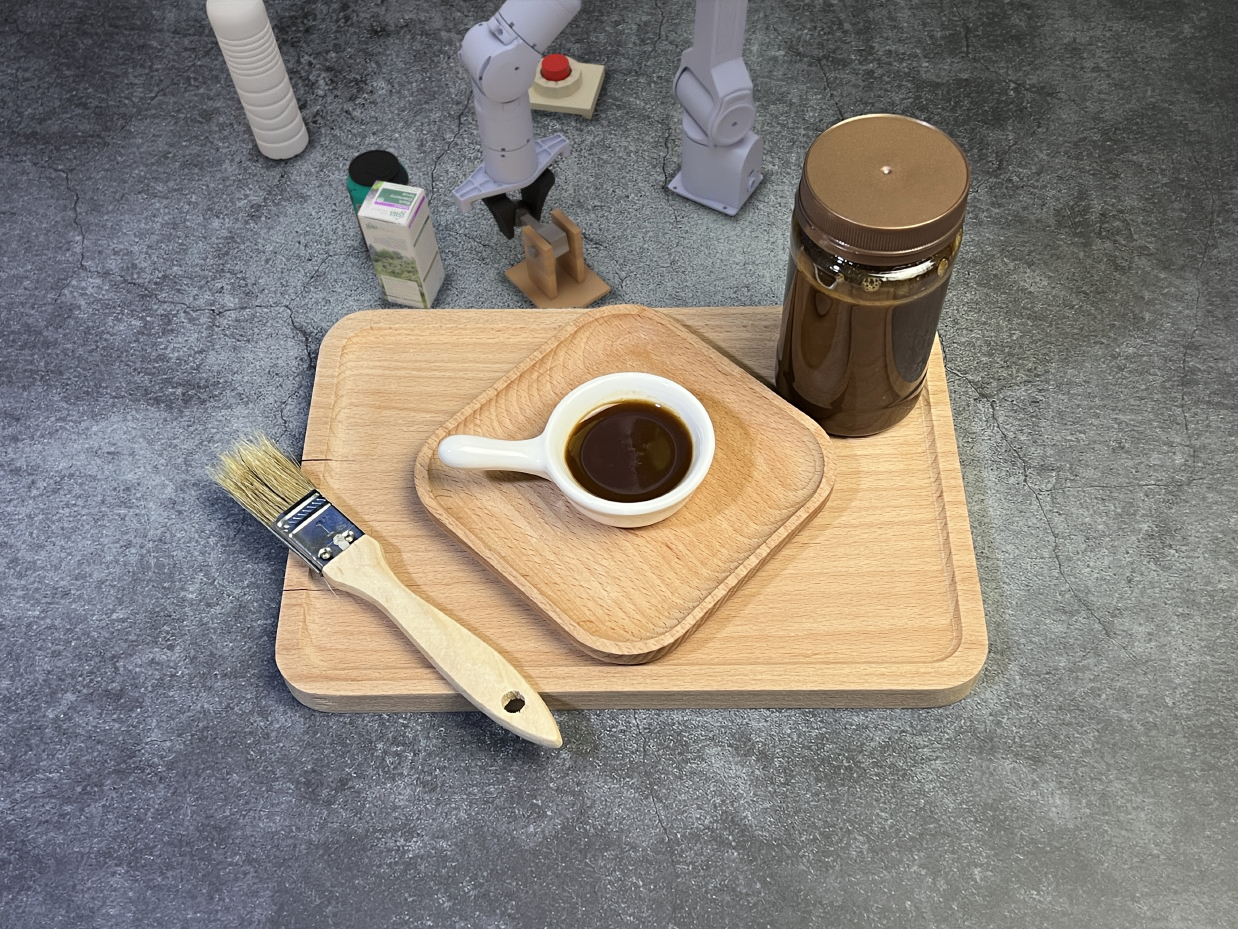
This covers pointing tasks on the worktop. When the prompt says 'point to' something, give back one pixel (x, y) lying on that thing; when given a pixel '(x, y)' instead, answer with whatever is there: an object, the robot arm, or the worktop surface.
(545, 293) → the bracket
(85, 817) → the worktop surface
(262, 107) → the water bottle
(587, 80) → the button box
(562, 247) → the lever
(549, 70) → the button
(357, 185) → the teal lidded canister
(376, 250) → the syrup box
